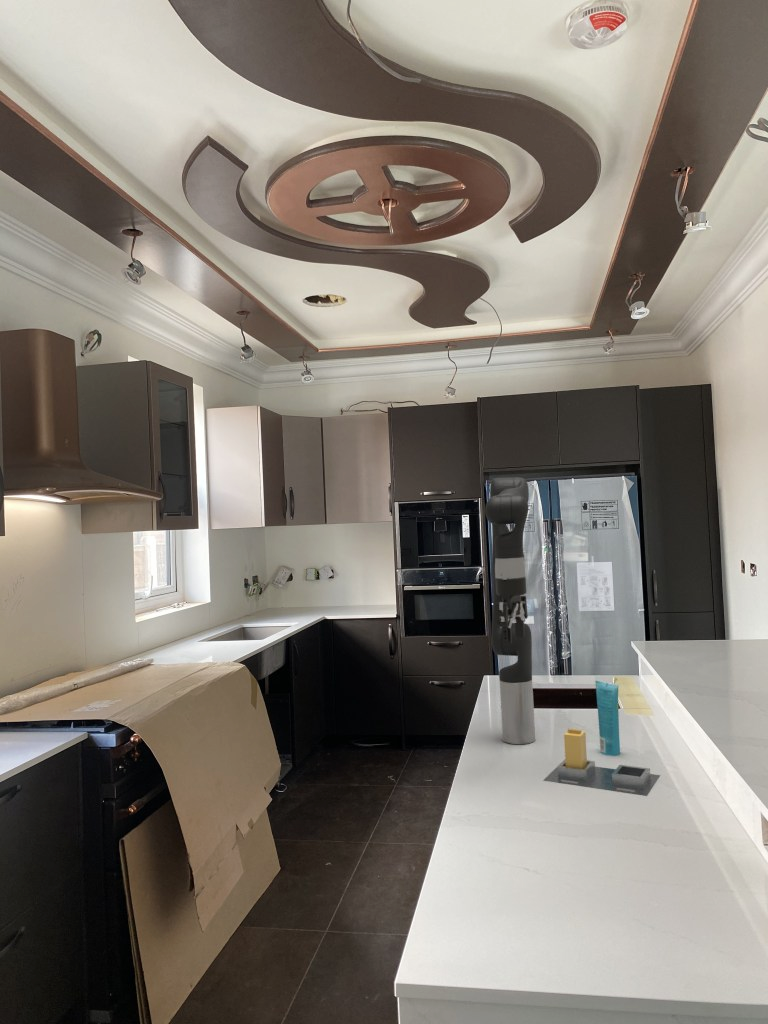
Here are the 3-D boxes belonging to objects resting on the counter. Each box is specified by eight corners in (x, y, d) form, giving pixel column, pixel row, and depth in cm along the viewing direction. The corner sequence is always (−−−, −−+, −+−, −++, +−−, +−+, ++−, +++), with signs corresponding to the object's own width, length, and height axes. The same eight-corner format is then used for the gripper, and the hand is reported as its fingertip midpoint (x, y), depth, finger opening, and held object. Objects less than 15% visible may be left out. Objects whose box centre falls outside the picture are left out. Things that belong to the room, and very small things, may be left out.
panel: (562, 765, 190) (561, 752, 190) (660, 779, 178) (659, 764, 178) (543, 784, 178) (542, 769, 178) (647, 800, 166) (646, 784, 166)
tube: (628, 757, 194) (624, 683, 194) (617, 761, 191) (613, 686, 191) (603, 750, 200) (599, 679, 200) (592, 755, 197) (588, 682, 197)
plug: (571, 770, 184) (569, 726, 184) (587, 772, 182) (585, 728, 182) (566, 775, 181) (563, 731, 181) (582, 778, 179) (580, 732, 179)
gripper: (507, 572, 196) (510, 634, 196) (484, 578, 184) (488, 644, 184) (534, 572, 192) (538, 636, 192) (513, 578, 180) (517, 646, 180)
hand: (513, 640), depth 188 cm, fingers open, 8 cm apart
